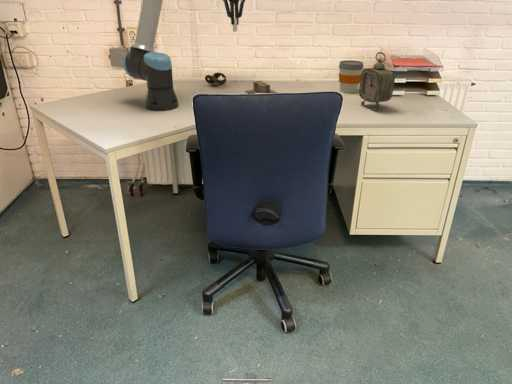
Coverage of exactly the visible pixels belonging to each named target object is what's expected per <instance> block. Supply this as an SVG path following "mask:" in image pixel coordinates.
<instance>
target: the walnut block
mask: <svg viewBox="0 0 512 384" xmlns="http://www.w3.org/2000/svg"><path fill="white" fill-rule="evenodd" d="M252 85H253V86H252V87H253V88H252V90H254V91H256V92H258V93H270V89H271V85H270V84H269V83H267V82H264V81H263V80H257V81H256V80H255V81H253V82H252Z"/></svg>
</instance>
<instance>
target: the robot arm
mask: <svg viewBox="0 0 512 384" xmlns="http://www.w3.org/2000/svg"><path fill="white" fill-rule="evenodd" d="M222 1H223V5H224V8H225V11H226V16H227V18H230V24H231V26H232V31H233V32H238V25H239V19H240V18H242V16H243V10H244V7H245V6H244V5H245V2H246V0H222ZM163 2H164V0H142V3H141V6H140V7H141V9H140V12H139V19H138V25H137V28H136V29H137V30H136V35H135V39H134V40H135V41H134V44H132V45H131V46H130V48H129V52H127V53H126V54H124V57H123V60H122V67H123V69H124V71H125V73H126V74H127V75H128V76H129V77H131V78H133V79H136V80H141V81H145V82H146V86H147V93H146V97H145V103H144V104H145V108H146V109H148V110H150V111H168V110H173V109H176V108H178V107H179V106H180V105H179V99H178V96H177V94H176V92H175V90H174V79H173V67H172V66H173V64H172V59H171V57H170V56H169V55H168V54H167V53H164V52H157V51H155V49H154V48H155V42H156V38H157V34H158V33H157V32H158V29H159V28H158V27H159V23H160V22H159V21H160V17H161V12H162V6H163ZM239 2H240V4H239Z"/></svg>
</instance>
